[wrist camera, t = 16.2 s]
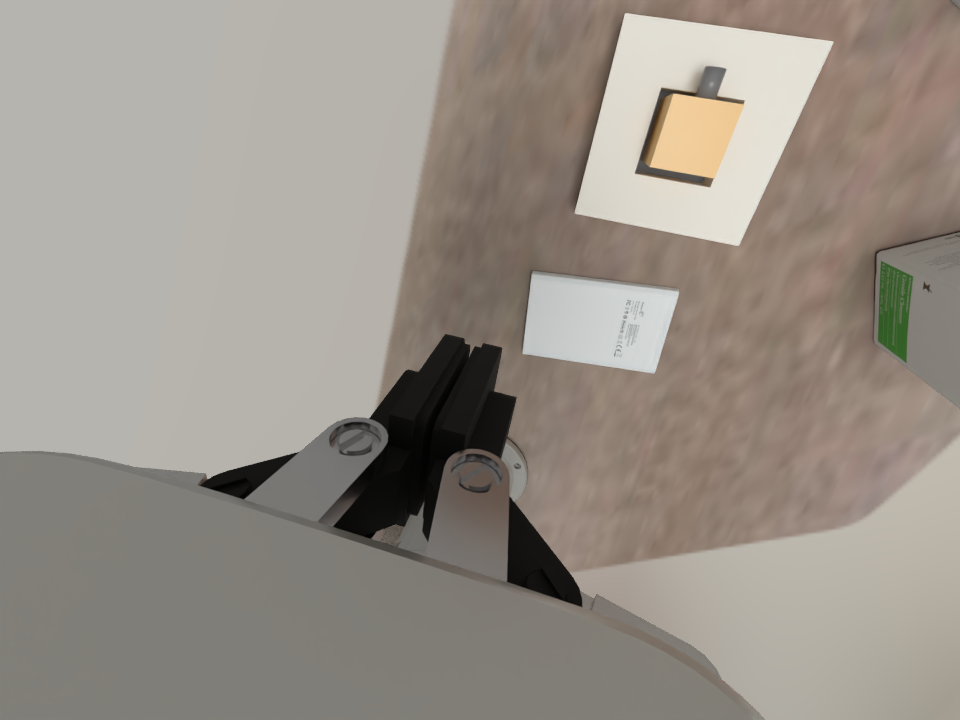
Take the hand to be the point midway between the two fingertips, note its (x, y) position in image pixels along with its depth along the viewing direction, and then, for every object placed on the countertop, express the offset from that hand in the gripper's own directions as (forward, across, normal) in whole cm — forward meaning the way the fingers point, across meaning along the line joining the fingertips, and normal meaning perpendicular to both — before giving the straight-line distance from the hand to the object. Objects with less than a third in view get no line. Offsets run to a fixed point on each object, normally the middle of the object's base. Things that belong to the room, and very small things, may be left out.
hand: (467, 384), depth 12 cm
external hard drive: (+28, -6, +8) cm, 30 cm away
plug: (+27, -8, -7) cm, 29 cm away
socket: (+27, -8, -7) cm, 29 cm away
